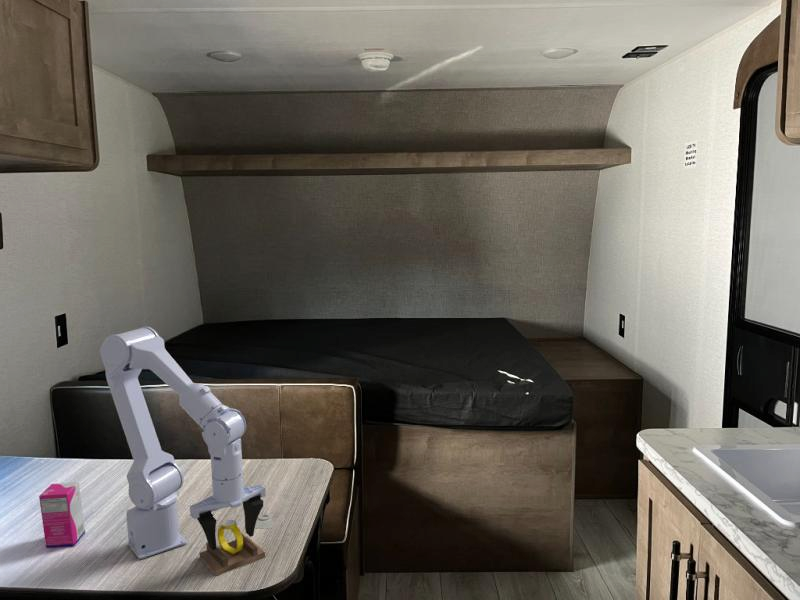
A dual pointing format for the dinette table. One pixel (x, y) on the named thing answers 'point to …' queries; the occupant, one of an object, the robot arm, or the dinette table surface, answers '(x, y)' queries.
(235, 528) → the watch
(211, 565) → the rack
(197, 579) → the dinette table surface
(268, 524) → the mounting bracket
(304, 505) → the dinette table surface
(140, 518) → the robot arm
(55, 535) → the supplement box
